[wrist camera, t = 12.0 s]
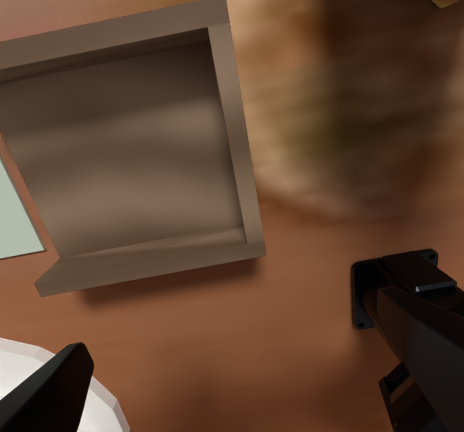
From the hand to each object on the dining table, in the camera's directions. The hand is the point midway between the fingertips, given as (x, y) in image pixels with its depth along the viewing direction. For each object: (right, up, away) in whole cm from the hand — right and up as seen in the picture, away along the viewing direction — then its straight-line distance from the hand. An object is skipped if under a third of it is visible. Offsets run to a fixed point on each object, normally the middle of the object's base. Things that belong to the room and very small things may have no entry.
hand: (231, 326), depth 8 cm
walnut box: (-6, +7, +10) cm, 14 cm away
